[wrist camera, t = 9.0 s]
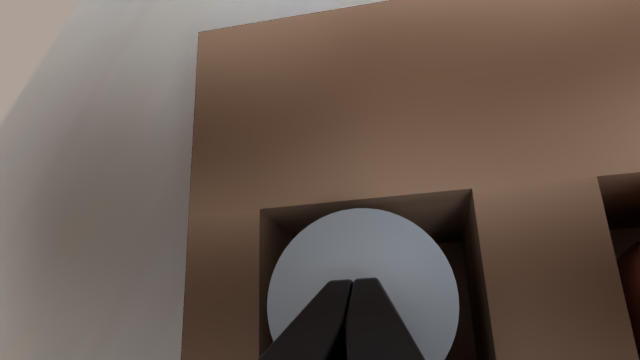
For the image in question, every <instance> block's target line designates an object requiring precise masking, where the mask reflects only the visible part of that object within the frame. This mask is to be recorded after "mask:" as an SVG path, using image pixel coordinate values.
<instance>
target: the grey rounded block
mask: <svg viewBox="0 0 640 360" xmlns="http://www.w3.org/2000/svg"><path fill="white" fill-rule="evenodd" d="M371 277H376V278H378V279H379V281H380V282H381V284H382V286H383V287H384V289H385V291H386V293H387V294H388V296H389V298H390V300H391V301H392V303H393V305H394V306H395V308H396V310H397V312H398V313H399V315H400V317H401V319H402V320H403V322H404V324H405V325H406V327H407V329H408V331H409V332H410V334H411V336H412V338H413V339H414V341H415V343H416V344H417V346H418V348H419V350H420V351H421V353H422V355H423V357H424V358H425V360H445V358H446V356H447V354H448V352H449V351H450V349H451V346H452V343H453V341H454V338H455V335H456V330H457V326H458V319H459V295H458V289H457V284H456V280H455V277H454V274H453V271H452V268H451V266H450V264H449V262H448V260H447V258H446V256H445V255H444V253H443V252H442V250H441V249H440V247H439V246H438V245H437V244H436V242H435V241H434V240H433V239H432V238H431V237H430V236H429V235H428V234H427V233H426V232H425V231H424V230H423V229H421V228H420V227H418V226H417V225H416V224H414V223H413V222H411V221H409V220H407V219H405V218H403V217H402V216H399V215H396V214H394V213H391V212H387V211H383V210H379V209H370V208H354V209H348V210H342V211H338V212H335V213H331V214H329V215H327V216H324V217H322V218H320V219H318V220H317V221H315V222H313V223H311V224H310V225H309V226H307V227H306V228H305V229H303V230H302V231H301V232H300V233H299V234H298V235H297V236H296V237H295V238H294V239H293V240H292V241H291V242H290V243H289V245H288V246H287V247H286V248H285V250H284V252H283V253H282V255H281V256H280V258H279V260H278V262H277V264H276V266H275V269H274V271H273V274H272V277H271V281H270V285H269V290H268V299H267V314H268V323H269V328H270V333H271V336H272V339H273V342H274V341H275V340H276V339H277V337H278V336H279V335H280V334H281V333H282V332H283V331H284V330H285V329H286V327H287V326H288V325H289V324H290V323H291V322H292V321H293V320H294V319H295V318H296V316H297V315H298V314H299V313H300V312H301V311H302V310H303V309H304V308H305V306H306V305H307V304H308V303H309V302H310V301H311V300H312V299H313V298H314V297H315V295H316V294H317V293H318V292H319V291H320V290H321V289H322V288H323V287H324V286H325V284H326V283H327V282H329V281H331V280H342V279H351V280H352V281H353V282H354V280H355V279H358V278H371Z"/></svg>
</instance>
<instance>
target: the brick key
mask: <svg viewBox="0 0 640 360" xmlns="http://www.w3.org/2000/svg"><path fill="white" fill-rule="evenodd" d="M616 262H617V266H618V270H619V275H620V279H621V283H622V288H623V292H624V296H625V301H626V305H627V309H628V314H629V318H630V322H631V327H632V331H633V335H634V340H635V344H636V348H637V353H638V357H639V358H640V240H639V241H638V242H636V243H635V244H633V245H632V246H630V247H629V248H628V249H627V250H625V251H624V252H623V254H622V255H621V256H620V257H619V258H618V260H617V261H616Z"/></svg>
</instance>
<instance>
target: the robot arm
mask: <svg viewBox="0 0 640 360" xmlns="http://www.w3.org/2000/svg"><path fill="white" fill-rule="evenodd" d="M258 360H425V358H424V357H423V355H422V353H421V351H420V350H419V348H418V346H417V344H416V343H415V341H414V339H413V338H412V336H411V334H410V332H409V331H408V329H407V327H406V325H405V324H404V322H403V320H402V319H401V317H400V315H399V313H398V312H397V310H396V308H395V306H394V305H393V303H392V301H391V300H390V298H389V296H388V294H387V293H386V291H385V289H384V287H383V286H382V284H381V282H380V281H379V279H378V278H376V277H371V278H358V279H355V280H354V282H353V281H352V280H351V279H342V280H331V281H329V282H327V283H326V284H325V286H324V287H323V288H322V289H321V290H320V291H319V292H318V293H317V294H316V295H315V297H314V298H313V299H312V300H311V301H310V302H309V303H308V304H307V305H306V306H305V308H304V309H303V310H302V311H301V312H300V313H299V314H298V315H297V316H296V318H295V319H294V320H293V321H292V322H291V323H290V324H289V325H288V326H287V327H286V329H285V330H284V331H283V332H282V333H281V334H280V335H279V336H278V337H277V339H276V340H275V341H274V342H273V343H272V344H271V345H270V346H269V347H268V348H267V350H266V351H265V352H264V353H263V354H262V355H261V356H260V357H259V358H258Z"/></svg>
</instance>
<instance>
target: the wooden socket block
mask: <svg viewBox="0 0 640 360" xmlns="http://www.w3.org/2000/svg"><path fill="white" fill-rule="evenodd" d="M354 208H370V209H379V210H383V211H387V212H391V213H394V214H396V215H399V216H402V217H403V218H405V219H407V220H409V221H411V222H413V223H414V224H416V225H417V226H418V227H420V228H421V229H423V230H424V231H425V232H426V233H427V234H428V235H429V236H430V237H431V238H432V239H433V240H434V241H435V242H436V244H437V245H438V246H439V247H440V249H441V250H442V252H443V253H444V255H445V256H446V258H447V260H448V262H449V264H450V266H451V268H452V271H453V274H454V277H455V280H456V284H457V289H458V295H459V319H458V326H457V330H456V335H455V338H454V341H453V343H452V346H451V349H450V351H449V352H448V354H447V356H446V358H445V360H640V358H639V357H638V353H637V348H636V344H635V340H634V335H633V331H632V327H631V322H630V318H629V314H628V309H627V305H626V301H625V296H624V292H623V288H622V283H621V279H620V275H619V270H618V266H617V262H616V261H617V260H618V258H619V257H620V256H621V255H622V254H623V252H624V251H625V250H627V249H628V248H629V247H630V246H632V245H633V244H635V243H636V242H638V241H639V240H640V0H389V1H383V2H377V3H371V4H365V5H359V6H353V7H347V8H341V9H335V10H329V11H323V12H317V13H311V14H305V15H299V16H293V17H287V18H281V19H275V20H269V21H263V22H257V23H251V24H245V25H239V26H233V27H227V28H221V29H215V30H209V31H203V32H199V33H198V52H197V70H196V89H195V108H194V126H193V145H192V164H191V182H190V201H189V219H188V238H187V257H186V275H185V294H184V312H183V331H182V350H181V360H258V358H259V357H260V356H261V355H262V354H263V353H264V352H265V351H266V350H267V348H268V347H269V346H270V345H271V344H272V343H273V339H272V336H271V333H270V328H269V323H268V314H267V299H268V290H269V285H270V281H271V277H272V274H273V271H274V269H275V266H276V264H277V262H278V260H279V258H280V256H281V255H282V253H283V252H284V250H285V248H286V247H287V246H288V245H289V243H290V242H291V241H292V240H293V239H294V238H295V237H296V236H297V235H298V234H299V233H300V232H301V231H302V230H303V229H305V228H306V227H307V226H309V225H310V224H311V223H313V222H315V221H317V220H318V219H320V218H322V217H324V216H327V215H329V214H331V213H335V212H338V211H342V210H348V209H354Z"/></svg>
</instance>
